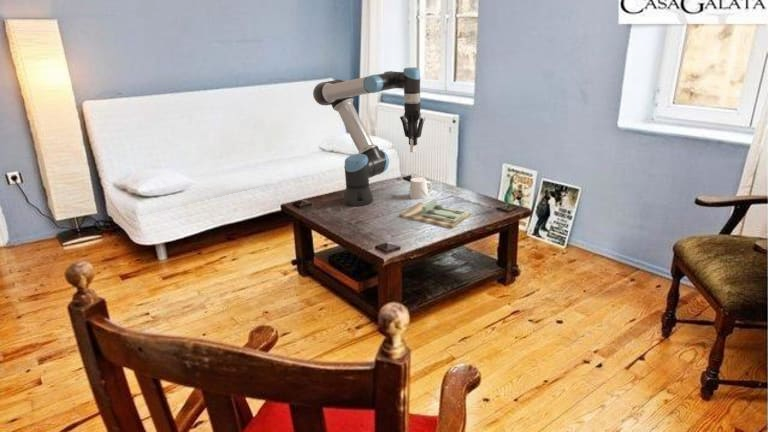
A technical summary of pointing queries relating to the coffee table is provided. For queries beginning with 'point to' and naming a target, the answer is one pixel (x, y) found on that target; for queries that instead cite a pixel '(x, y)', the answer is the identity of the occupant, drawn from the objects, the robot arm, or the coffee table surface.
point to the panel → (441, 212)
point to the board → (416, 215)
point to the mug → (419, 188)
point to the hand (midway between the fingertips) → (413, 151)
